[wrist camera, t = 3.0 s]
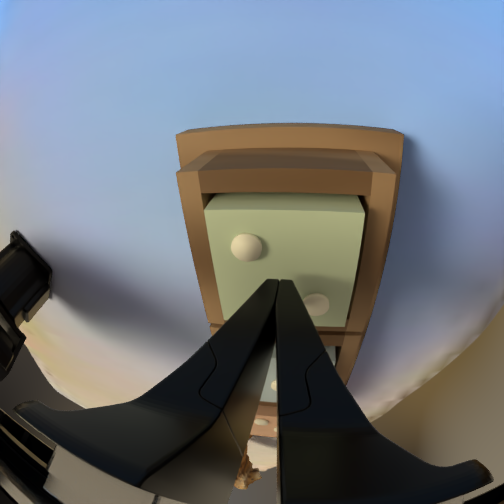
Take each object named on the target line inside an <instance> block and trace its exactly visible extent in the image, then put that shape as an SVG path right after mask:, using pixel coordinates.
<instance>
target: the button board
mask: <svg viewBox="0 0 504 504" xmlns="http://www.w3.org/2000/svg"><path fill="white" fill-rule="evenodd" d="M403 139H404V134H402V133H400V132H397V131H395V130H393V129H385V128H376V127H366V126H355V125H340V124H318V123H268V124H245V125H230V126H218V127H208V128H198V129H190V130H186V131H184V132H181V133H179V134H177V135H176V141H177V148H178V154H179V161H180V167H181V169H180V170H179V171H177V172H176V176H177V182H178V187H179V193H180V198H181V203H182V209H183V214H184V219H185V224H186V229H187V233H188V238H189V243H190V248H191V252H192V257H193V261H194V266H195V270H196V274H197V278H198V283H199V287H200V291H201V295H202V299H203V303H204V307H205V311H206V315H207V319H208V322H209V323H211V325H210V330H211V334H212V336H213V335H214V334H215V333H216V332H217V331H218V329H219V328H220V327H221V326H222V325H223V324H224V323H225V322H226V321H227V320H224V317H223V313H222V308H221V303H220V298H219V292H218V287H217V282H216V277H215V271H214V266H213V261H212V255H211V249H210V244H209V238H208V232H207V226H206V220H205V214H204V209H205V208H206V206H207V205H208V204H209V203H210V201H211V200H212V199H213V197H214V196H215V195H216V194H217V193H231V192H293V193H328V194H350V195H357V196H358V198H359V201H360V203H361V205H362V207H363V210H364V212H365V217H364V225H363V232H362V239H361V246H360V252H359V258H358V264H357V270H356V275H355V281H354V286H353V291H352V296H351V301H350V305H349V310H348V314H347V319H346V323H345V327H327V326H315V327H316V329H317V331H318V333H319V336H320V338H321V340H322V342H323V344H324V346H335V358H336V362H335V365H334V367H335V368H336V370H337V372H338V374H339V376H340V377H341V379H342V381H343V382H344V384H345V386H346V384H347V382H348V380H349V377H350V374H351V372H352V369H353V367H354V364H355V361H356V359H357V356H358V353H359V350H360V348H361V345H362V342H363V339H364V336H365V333H366V330H367V327H368V324H369V320H370V317H371V314H372V310H373V307H374V304H375V300H376V297H377V293H378V289H379V285H380V282H381V278H382V274H383V270H384V265H385V261H386V257H387V252H388V247H389V243H390V238H391V232H392V227H393V222H394V216H395V210H396V203H397V197H398V189H399V181H400V173H401V163H402V152H403ZM275 343H276V341H275ZM259 405H263V406H274V407H277V403H276V402H265V401H260V402H259Z"/></svg>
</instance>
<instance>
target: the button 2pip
mask: <svg viewBox="0 0 504 504" xmlns="http://www.w3.org/2000/svg"><path fill="white" fill-rule="evenodd" d="M204 214H205V220H206V226H207V232H208V238H209V244H210V249H211V255H212V261H213V266H214V271H215V277H216V282H217V287H218V292H219V298H220V303H221V308H222V313H223V317H224V320H228V319H229V318H230V317H231V316H232V315H233V314H234V313H235V312H236V311H237V310H238V309H239V308H240V307H241V306H242V304H243V303H244V302H245V301H246V300H247V299H248V298H249V297H250V296H251V295H252V294H253V293H254V292H255V291H256V290H257V289H258V287H259V286H260V285H261V284H262V283H263V282H264V281H265V280H266V279H279V281H280V280H281V279H291V280H293V282H294V284H295V286H296V288H297V290H298V292H299V294H300V296H301V298H302V300H303V302H304V304H305V306H306V308H307V311H308V313H309V315H310V317H311V319H312V321H313V323H314V325H315V326H327V327H345V323H346V319H347V314H348V310H349V305H350V301H351V296H352V291H353V286H354V281H355V275H356V270H357V264H358V258H359V252H360V246H361V239H362V232H363V225H364V217H365V212H364V210H363V207H362V205H361V203H360V201H359V198H358V196H357V195H350V194H328V193H293V192H231V193H217V194H216V195H215V196H214V197H213V199H212V200H211V201H210V203H209V204H208V205H207V206H206V208H205V209H204Z"/></svg>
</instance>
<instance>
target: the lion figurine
mask: <svg viewBox="0 0 504 504" xmlns="http://www.w3.org/2000/svg"><path fill="white" fill-rule="evenodd" d="M251 437H252V435H251V434H250V436H249V438H251ZM242 457H243V459H242V462H241V465H240V468H239V471H238V474H237V477H236V480H235V483H234V486H235V487H236V488H239V489H247V488H248V485H249V484H251V483H253V482H254V481H256V480H258V479H261V478H262V477H261V475H260V473H259V469H258V468H255V469H252V463H251V462H250V461H249V456H248V455H247V446H246V449H245V452H244V455H243V456H242Z"/></svg>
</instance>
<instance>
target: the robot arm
mask: <svg viewBox="0 0 504 504" xmlns="http://www.w3.org/2000/svg"><path fill="white" fill-rule="evenodd" d="M51 275H52V271H51V269H50V268H49V266H47V265H46V264H45V263H44V262H43V261H42V260H41V259H40V257H39V256H38V255H37V254H36V253H35V252H34V251H33V250H32V249H31V248H30V247H29V246H28V245H27V244H26V243H25V242H24V241H23V239H22V238H21V237H20V236H19V235H18V234H17V233H16V232H15V231H13V232H12V233H11V234H10V244H9V245H7V246H6V247H5V248H4V249H3V250H2V251H1V252H0V381H2V380H3V379H4V378H5V377H6V376H7V375H8V373H9V372H10V370H11V368H12V366H13V364H14V362H15V360H16V358H17V356H18V353H19V351H20V349H21V347H22V345H23V343H24V342H25V340H26V336H25V335H24V333H22V332H21V331H20V330H19V328H18V327H19V326H20V325H21V323H22V322H23V321H24V320H25V321H26V322H29V321H30V320H31V319H32V318H33V316H34V315H35V314H36V313H37V311H38V310H39V309H40V308H41V307H42V305H43V304H44V303H45V302H46V301H47V300H48V298H49V292H50V281H51ZM275 341H276V390H277V504H504V483H503V484H501V485H499V486H497V487H495V488H493V489H491V490H489V491H487V492H485V493H483V494H480V495H478V496H476V497H474V498H471V499H469V500H467V501H464V498H463V497H464V494H467V493H469V492H472V491H474V490H476V489H478V488H481V487H483V486H485V485H487V484H489V483H491V482H493V480H494V479H493V476H492V474H491V473H490V471H489V470H488V469H487V468H486V467H485V466H484V465H483V464H481V463H480V462H479V461H478V460H475V459H474V460H469V461H466V462H463V463H460V464H456V465H453V466H449V467H439V466H435V465H431V464H429V463H426V462H424V461H423V460H421V459H420V458H418V457H416V456H415V455H413V454H411V453H410V452H408V451H406V450H405V449H403V448H402V447H400V446H398V445H397V444H395V443H393V442H392V441H390V440H389V439H387V438H386V437H384V436H383V435H382V434H380V433H379V432H378V431H377V430H376V429H375V428H374V427H373V426H372V424H371V423H370V422H369V420H368V419H367V418H366V416H365V415H364V413H363V412H362V410H361V408H360V407H359V405H358V404H357V402H356V401H355V399H354V398H353V396H352V395H351V393H350V392H349V390H348V389H347V387H346V386H345V384H344V382H343V381H342V379H341V377H340V376H339V374H338V372H337V370H336V368H335V367H334V365H333V363H332V361H331V359H330V356H329V354H328V352H327V351H326V348H325V346H324V344H323V342H322V340H321V338H320V336H319V333H318V331H317V329H316V327H315V325H314V323H313V321H312V319H311V317H310V315H309V313H308V311H307V308H306V306H305V304H304V302H303V300H302V298H301V296H300V294H299V292H298V290H297V288H296V286H295V284H294V282H293V280H291V279H281V280H280V281H279V279H266V280H265V281H264V282H263V283H262V284H261V285H260V286H259V287H258V289H257V290H256V291H255V292H254V293H253V294H252V295H251V296H250V297H249V298H248V299H247V300H246V301H245V302H244V303H243V304H242V306H241V307H240V308H239V309H238V310H237V311H236V312H235V313H234V314H233V315H232V316H231V317H230V318H229V319H228V320H227V321H226V322H225V323H224V324H223V325H222V326H221V327H220V328H219V329H218V331H217V332H216V333H215V334H214V335H213V336H212V337H211V338H210V339H209V340H208V342H206V343H205V344H204V345H203V346H202V347H201V348H200V349H199V350H198V351H197V352H196V353H195V354H194V355H192V356H191V357H190V358H189V359H188V360H187V361H186V362H185V363H183V364H182V365H181V366H180V367H179V368H177V369H176V370H175V371H174V372H172V373H171V374H170V375H169V376H167V377H166V378H165V379H163V380H162V381H161V382H159V383H158V384H157V385H155V386H154V387H153V388H152V389H150V390H149V391H148V392H146V393H145V394H143V395H142V396H140V397H138V398H136V399H134V400H132V401H129V402H126V403H121V404H115V405H109V406H103V407H97V408H89V409H82V410H74V411H59V410H55V409H51V408H49V407H47V406H46V405H44V404H43V403H41V402H40V401H38V400H32V401H27V402H24V403H21V404H19V405H17V406H16V407H15V408H13V411H14V412H15V413H16V414H17V415H18V416H19V417H21V418H22V419H23V420H24V421H25V422H27V423H28V424H29V425H31V426H32V427H33V428H34V429H36V430H37V431H38V432H40V433H41V434H42V435H44V436H45V437H47V438H48V439H49V440H51V441H52V442H54V443H55V444H56V446H55V448H54V450H53V449H52V448H50V447H49V446H48V445H46V444H45V443H43V442H42V441H41V440H40V439H38V438H37V437H36V436H34V435H33V434H31V433H30V432H29V431H28V430H26V429H25V428H24V427H22V426H21V425H20V424H19V423H17V422H16V421H15V420H14V419H12V418H11V417H10V416H9V415H7V414H6V413H5V412H4V411H3V410H1V409H0V504H227V503H228V500H229V497H230V495H231V492H232V489H233V486H234V483H235V480H236V477H237V474H238V471H239V468H240V465H241V462H242V459H243V457H242V456H243V455H244V452H245V449H246V446H247V443H248V439H249V436H250V433H251V429H252V426H253V423H254V419H255V416H256V413H257V409H258V406H259V402H260V399H261V395H262V391H263V388H264V384H265V381H266V377H267V373H268V369H269V366H270V362H271V358H272V354H273V350H274V346H275Z"/></svg>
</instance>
